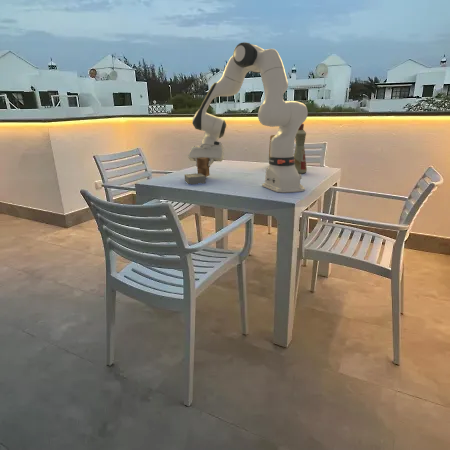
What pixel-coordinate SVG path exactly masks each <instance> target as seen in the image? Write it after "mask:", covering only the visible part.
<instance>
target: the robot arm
mask: <svg viewBox="0 0 450 450" xmlns="http://www.w3.org/2000/svg"><path fill="white" fill-rule="evenodd" d="M233 50H234V51H233V54H232V56H231V57H230V58H229V60H228V62H227V63H226V66H225V67H224V71H223V73H222V76H221V77H220V79H219V80H217V82H213V84H212V85H211V86H210V87H209V89H208V92H207V93H206V95H205V97H204V98H203V100H202V102H201V105H200V106H199V108H198V110H197V111H196V112H195V113H194V115H193V118H192V126H193V128H194V129H195V130H199V131H202V132H204V134H203V137H202V139H201V143H200V145H194V146H192V147H190V151H189V152H188V155H187V157H188V159H189V161H191V162H195V163H196V164H195V166H196V167H197V158H199V157H208V158H209V163H207V167H209V168H211V166H212V165H213V164H214V162H223V161H224V158H225V157H224V156H225V153H224V152H225V148H224V145H223V143H222V142H221V141H219V139H222V137H224V135H225V131H226V128H227V122H226V121H225V119H224V118H221V117H220V116H215V115H213V114H210V113H208V112H207V110H208V108H209V106H210V105H211V103H212V102H213V100H214V99H215V98H219V97H233V96H235V95H237V94H238V93H239V92H240V90H241V89H242V86H243V83H244V81H245V79H246V76H247V74H248V73H249V72H251V73H253V74H260V77H261V81H262V84H263V85H262V86H263V87H262V88H263V90H264V99H263V102H262V104H261V105H260V106H259V108H258V112H257V118H258V121H259V123H260V125H262V126H265V127H272V128H274V127H278V130H277V132H276V134H274V135H275V136H274V137H273V138H272V139H271V142H270V141H269V146H270V156H269V155H268V164H269V165H268V166H267V167H266V169H265V178H264V183H262V184H261V187H263V188H266V189H269V190H271V191H273V192H276V193H298V192H303V191H305V190H306V188H305V187H304V186H303V185H302V184H301V180H302V179H303V177H302V174H298V171H297V170H296V168H295V165H294V164H295V159H294V153H295V142H296V139H295V137H296V134H297V131H298V129H299V127H300V126H301V124H304V123H305V121H306V120H307V118H308V113H309V112H308V107H307V105H306V104H305V103H303V102H301V101H300V102H299V101H297V100H296V101H295V100H284V94H285V93H286V91H287V90H288V88H289V81H288V77H287V75H286V74H287V73H286V70H285V66H284V63H283V60H282V58H281V56H280V54H279V52H278V50H277V49H275V48H268V49H267V48H266V49H264V48H262V47H260V46H259V45H256V44H252V43H250V42H245V41H243V42H240V43H238V44H237V45H236V46H235V47H234V49H233Z"/></svg>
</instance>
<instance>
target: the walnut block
mask: <svg viewBox="0 0 450 450" xmlns="http://www.w3.org/2000/svg"><path fill="white" fill-rule="evenodd" d="M209 162H210V161H209V158H208V157H199V158H197V173H201V174H203V175H204V176H205V178H206V177H208V176H210V167H207V163H209Z"/></svg>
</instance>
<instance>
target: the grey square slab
mask: <svg viewBox="0 0 450 450" xmlns="http://www.w3.org/2000/svg"><path fill="white" fill-rule="evenodd" d="M185 181H186V182H187V183H188V184H191V185H199V184H198V183H202V184H206V177H205V176H204V175H203V174H201V173H198V172H197V173H186V174H184V182H185ZM186 182H185V183H186ZM187 183H186V184H187ZM188 184H187V185H188Z"/></svg>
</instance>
